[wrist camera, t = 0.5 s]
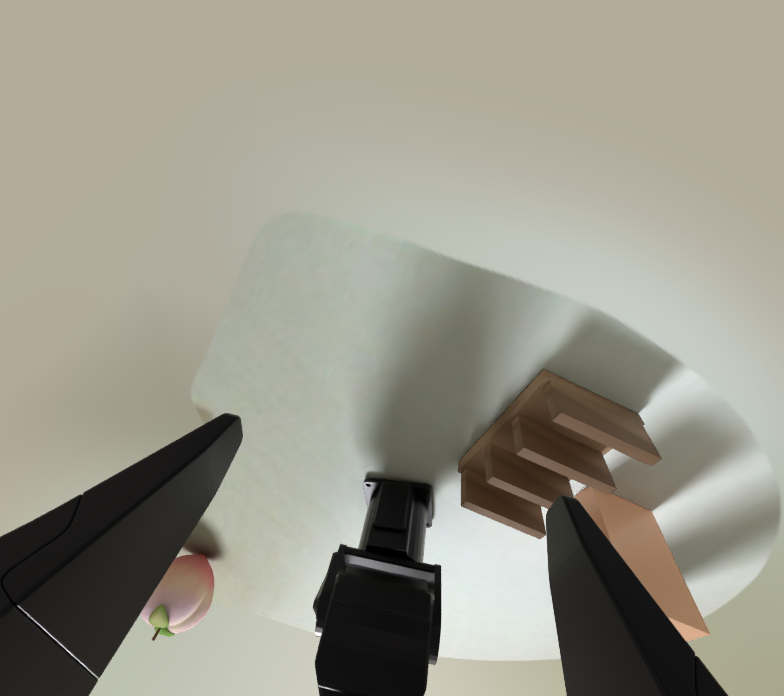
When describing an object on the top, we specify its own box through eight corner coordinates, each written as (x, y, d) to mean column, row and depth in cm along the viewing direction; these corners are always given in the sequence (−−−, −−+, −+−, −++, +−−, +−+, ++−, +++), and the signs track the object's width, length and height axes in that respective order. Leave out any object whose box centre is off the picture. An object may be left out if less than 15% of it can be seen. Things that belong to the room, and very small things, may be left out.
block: (633, 521, 30) (683, 642, 24) (574, 496, 30) (608, 611, 23) (651, 511, 29) (710, 634, 22) (591, 484, 29) (631, 602, 22)
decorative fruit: (165, 531, 48) (104, 617, 40) (220, 543, 47) (169, 633, 39) (184, 563, 53) (133, 645, 45) (234, 574, 52) (191, 660, 44)
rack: (534, 495, 31) (543, 540, 27) (458, 462, 30) (457, 504, 27) (638, 413, 24) (666, 460, 21) (543, 369, 23) (556, 410, 20)
